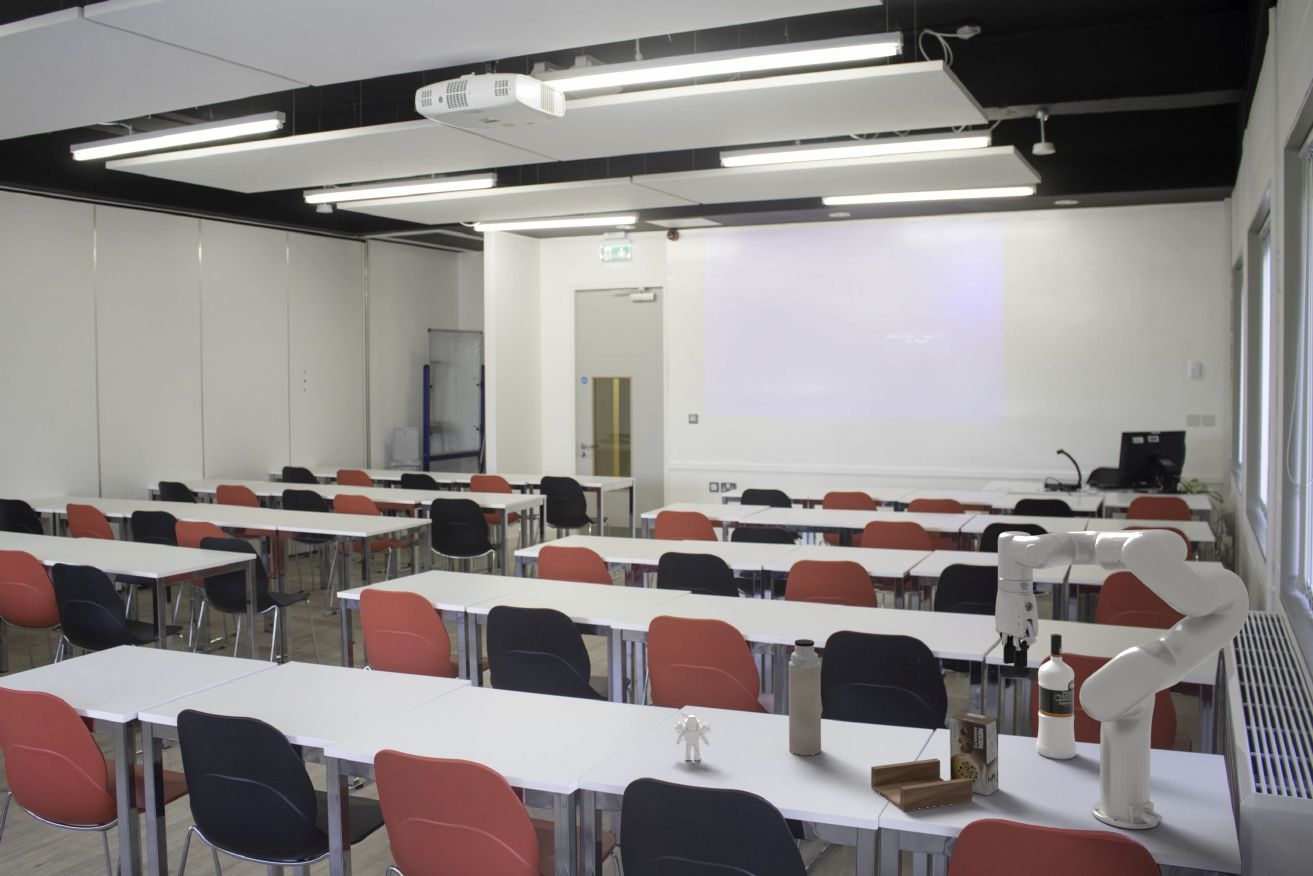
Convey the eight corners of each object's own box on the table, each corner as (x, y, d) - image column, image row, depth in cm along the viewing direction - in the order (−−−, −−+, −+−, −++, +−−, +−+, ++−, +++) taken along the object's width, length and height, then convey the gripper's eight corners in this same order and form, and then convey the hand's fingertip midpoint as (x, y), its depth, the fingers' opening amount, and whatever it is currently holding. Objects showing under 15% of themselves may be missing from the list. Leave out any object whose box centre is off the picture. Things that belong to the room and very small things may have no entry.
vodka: (1051, 745, 250) (1051, 628, 249) (1084, 755, 242) (1084, 635, 241) (1028, 752, 245) (1028, 633, 244) (1061, 763, 237) (1061, 640, 236)
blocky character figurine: (673, 761, 241) (673, 713, 241) (676, 755, 245) (675, 708, 244) (710, 763, 239) (709, 714, 239) (711, 757, 243) (711, 709, 243)
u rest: (972, 801, 214) (972, 780, 214) (903, 811, 209) (903, 789, 209) (936, 779, 228) (936, 758, 228) (871, 787, 223) (871, 766, 223)
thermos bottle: (797, 743, 253) (796, 635, 252) (825, 748, 249) (825, 639, 248) (783, 752, 246) (783, 642, 246) (813, 758, 242) (812, 645, 241)
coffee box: (999, 788, 222) (999, 717, 221) (987, 796, 217) (987, 724, 217) (961, 778, 228) (961, 709, 228) (948, 786, 223) (948, 716, 223)
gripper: (1053, 591, 218) (1053, 672, 218) (1006, 579, 233) (1006, 655, 234) (1024, 593, 215) (1024, 675, 216) (979, 581, 231) (979, 658, 232)
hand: (1015, 664), depth 225 cm, fingers open, 3 cm apart
